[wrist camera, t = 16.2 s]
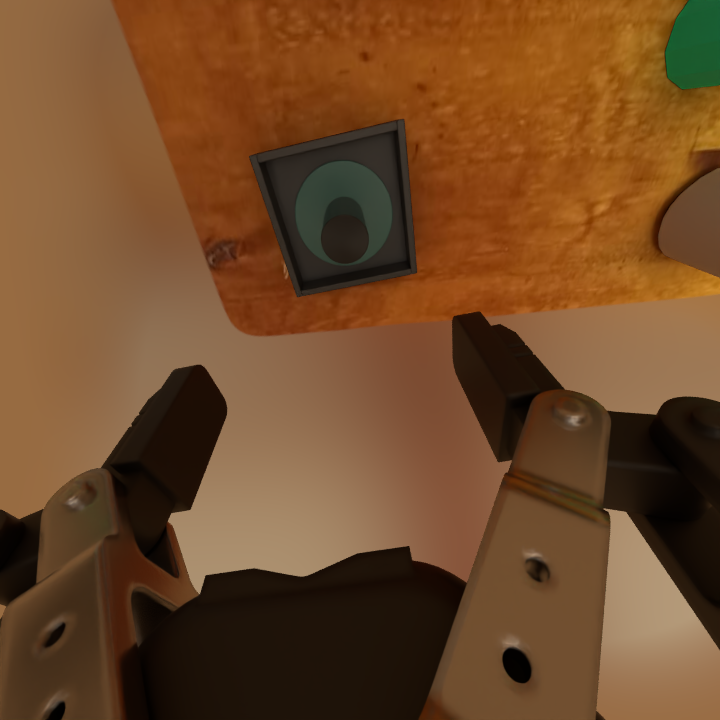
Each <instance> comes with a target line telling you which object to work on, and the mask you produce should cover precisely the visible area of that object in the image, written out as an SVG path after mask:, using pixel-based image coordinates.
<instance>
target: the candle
mask: <svg viewBox="0 0 720 720" xmlns="http://www.w3.org/2000/svg"><path fill="white" fill-rule="evenodd" d="M665 58H666V68H667V78H668V79H670V80H671V81H672V82H673V83H675V84H676V85H677V86H678V87H680V88H681V89H691V88H700V87H709V86H718V85H720V0H689V1H688V2H687V4H686V5H685V7H684V8H683V10H682V11H681V13H680V14H679V15H678V17H677V18H676V21H675V24H674V27H673V30H672V33H671V36H670V39H669V42H668V45H667V48H666V51H665Z"/></svg>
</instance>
